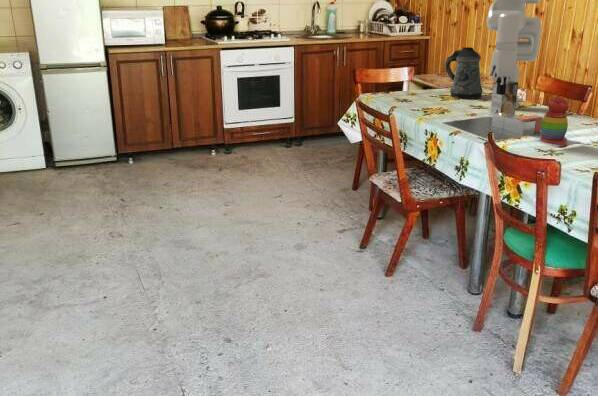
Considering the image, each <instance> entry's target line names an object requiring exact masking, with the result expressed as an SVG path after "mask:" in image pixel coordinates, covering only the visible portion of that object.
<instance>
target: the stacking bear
mask: <svg viewBox="0 0 598 396" xmlns="http://www.w3.org/2000/svg"><path fill="white" fill-rule="evenodd" d="M547 107H548V111H547V112H546V113H545V114H544V116H543V117H542V123H541V130H540V132H541V134H540V135H541V137H540V138H539V141H540V142H542V143H546V144H550V145H555V146H557V148H562V149H563V148H567V147H568V143H567V141H568V138H566V137H565V136H566V134H567V131H568V127H569V123H568V115H567V112H568V110H569V109H570V107H571V106H570V104H569V103H568V102H567V101H566V98H564V97H559V95H557V96H554V97H552V98H551V99H550V100H549V102H548V106H547Z"/></svg>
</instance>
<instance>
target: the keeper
mask: <svg viewBox="0 0 598 396" xmlns="http://www.w3.org/2000/svg"><path fill="white" fill-rule="evenodd" d="M516 119H517V120H520V121H527V120H535V121H536V123H535V130H534V133H537V132H541V123H542V121H543V116H541V115H537V114H534V115H526V116H520V117H519V118H516Z"/></svg>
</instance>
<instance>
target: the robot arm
mask: <svg viewBox="0 0 598 396" xmlns="http://www.w3.org/2000/svg"><path fill="white" fill-rule="evenodd" d="M541 1H542V0H494V1H493V2H492V3H491V5H490V7H489V9H488V14H487V18H486V26H487V28H488V29H489V30H490V31H497V33H496V39H495V40H496V43H495V49H494V50H493V52H492V56H491V60H490V65H489V73H488V74H489V76H490V77H491V81H493V82H496V84H497V90H496V94H499V95H505V92H506V84H508V81H514V82H518V83H519V78H520V68H519V67H518V65H517V62H527V63H529V62H530V63H531V62H535V61H536V59H537V58H538V56H539V55H538V54H539V50H540V42H541V35H542V22H541V19H540V18H538V17H535V16H534V17H533V16H532V17H529V16H528V17H527V16H526V9H527V7H526V4H528V5H530V4H532V5H533V4H535V5H537V4H539V3H540V2H541ZM523 102H524V98H523V97H520V98H518V97H517V99H516V108H515V110H517V109H519V103H523Z"/></svg>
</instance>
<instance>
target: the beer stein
mask: <svg viewBox="0 0 598 396" xmlns="http://www.w3.org/2000/svg"><path fill="white" fill-rule="evenodd" d="M481 59H482V56H481V55H480V54H479V53H478V52H477V51H475V50H474V47H469V46H467V47H462V49H459V50H454V52H453V53H452V55H450V56H449V57H447V58H446V59H445V62H444V69H445V71H446V73H447V76H448V77H449V78H450V79H451V80H452V81H453V82H452V85H451V88H450V91H449V93H450V97H451V96H452V97H451V98H453V97H454V98H453V99H457V98H458V100H478V99H481V98H482V95H483V88H482V84H481V83H482V82H481V76H480V75H481V72H480V71H481V70H480V61H481ZM451 62H457V63H456V69H455V73H453V71H452V69H451V67H450V65H451Z"/></svg>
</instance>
